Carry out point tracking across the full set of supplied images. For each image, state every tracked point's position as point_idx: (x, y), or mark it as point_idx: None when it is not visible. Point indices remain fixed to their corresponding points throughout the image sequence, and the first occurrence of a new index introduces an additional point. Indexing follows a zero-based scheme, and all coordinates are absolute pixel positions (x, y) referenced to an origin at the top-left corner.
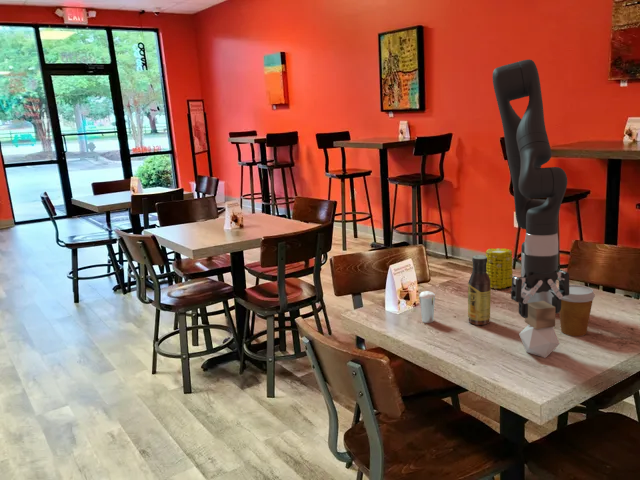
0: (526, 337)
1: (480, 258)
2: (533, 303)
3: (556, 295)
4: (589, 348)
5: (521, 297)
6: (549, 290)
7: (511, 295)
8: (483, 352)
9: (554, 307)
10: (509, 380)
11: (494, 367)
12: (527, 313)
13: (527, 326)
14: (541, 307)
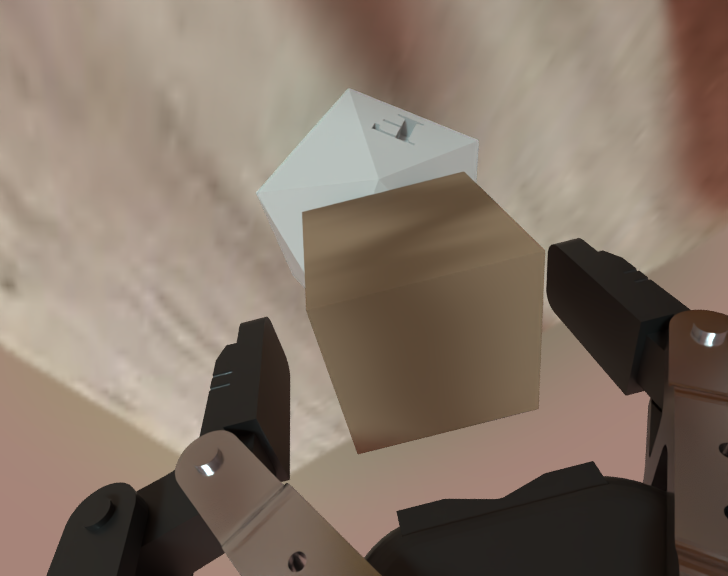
0: (289, 258)
1: None
2: (394, 321)
3: (646, 446)
4: (620, 149)
5: (211, 542)
6: (663, 419)
7: (61, 563)
8: (47, 148)
9: (527, 411)
10: (177, 403)
11: (119, 316)
12: (286, 397)
13: (319, 200)
14: (420, 416)
